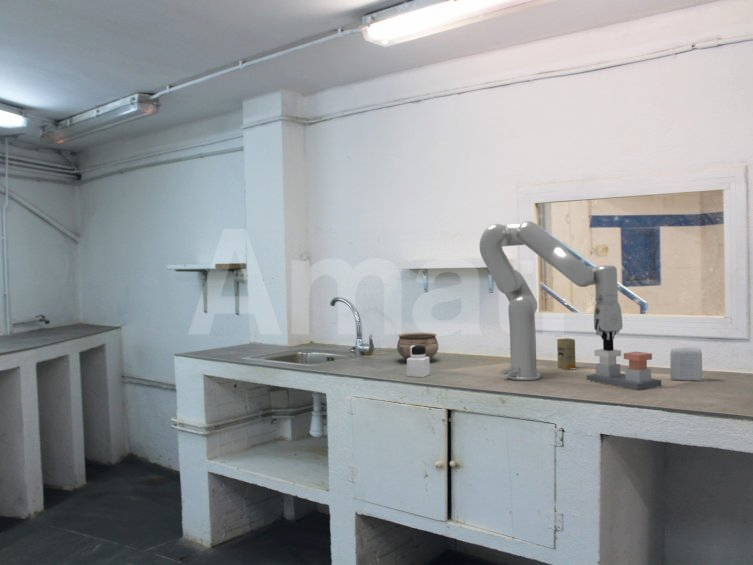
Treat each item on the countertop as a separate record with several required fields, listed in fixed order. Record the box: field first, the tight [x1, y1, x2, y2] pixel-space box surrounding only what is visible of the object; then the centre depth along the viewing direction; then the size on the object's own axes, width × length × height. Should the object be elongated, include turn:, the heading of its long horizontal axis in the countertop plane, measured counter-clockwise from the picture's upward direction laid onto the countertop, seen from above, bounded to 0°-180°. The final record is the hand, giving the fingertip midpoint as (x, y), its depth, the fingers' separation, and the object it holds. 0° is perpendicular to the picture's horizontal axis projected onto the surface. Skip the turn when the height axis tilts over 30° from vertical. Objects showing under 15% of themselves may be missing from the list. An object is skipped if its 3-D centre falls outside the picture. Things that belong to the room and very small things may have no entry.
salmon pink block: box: [623, 351, 653, 370], centre depth 215 cm, size 6×6×6 cm
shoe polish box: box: [556, 337, 577, 370], centre depth 254 cm, size 5×5×12 cm
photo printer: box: [669, 345, 703, 382], centre depth 223 cm, size 10×4×12 cm, turn 72°
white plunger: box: [593, 348, 622, 365], centre depth 227 cm, size 6×6×6 cm
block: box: [586, 362, 662, 391], centre depth 221 cm, size 12×22×6 cm, turn 28°
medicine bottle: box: [406, 345, 431, 378], centre depth 249 cm, size 7×7×12 cm
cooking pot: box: [396, 332, 439, 360], centre depth 285 cm, size 25×19×12 cm
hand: (608, 350), depth 226 cm, fingers closed
